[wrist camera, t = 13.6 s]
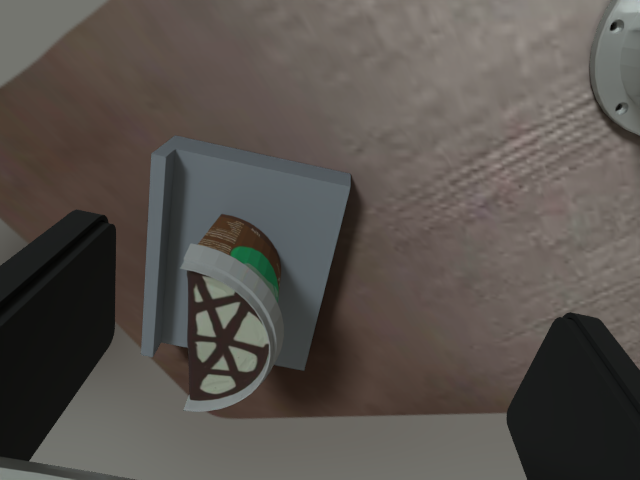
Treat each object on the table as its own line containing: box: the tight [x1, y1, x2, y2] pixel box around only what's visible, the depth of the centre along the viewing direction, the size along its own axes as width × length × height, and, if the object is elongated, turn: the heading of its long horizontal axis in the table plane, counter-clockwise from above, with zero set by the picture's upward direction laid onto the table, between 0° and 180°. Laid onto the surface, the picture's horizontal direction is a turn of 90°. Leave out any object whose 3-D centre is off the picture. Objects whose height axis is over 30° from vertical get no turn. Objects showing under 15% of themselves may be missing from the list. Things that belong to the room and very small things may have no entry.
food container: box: [180, 214, 284, 412], centre depth 35 cm, size 12×6×10 cm, turn 174°
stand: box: [141, 136, 351, 371], centre depth 40 cm, size 14×18×5 cm
